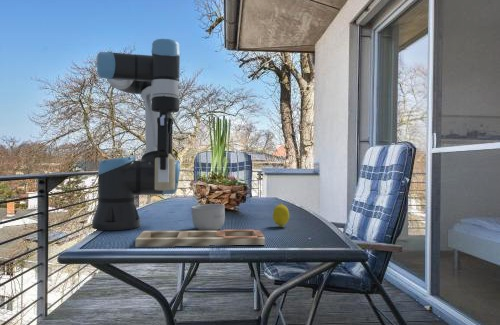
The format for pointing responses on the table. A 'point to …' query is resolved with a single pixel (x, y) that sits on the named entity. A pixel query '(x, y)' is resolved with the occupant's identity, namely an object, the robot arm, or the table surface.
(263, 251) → the table surface
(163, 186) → the candle
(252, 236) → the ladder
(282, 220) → the lemon
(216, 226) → the teacup
